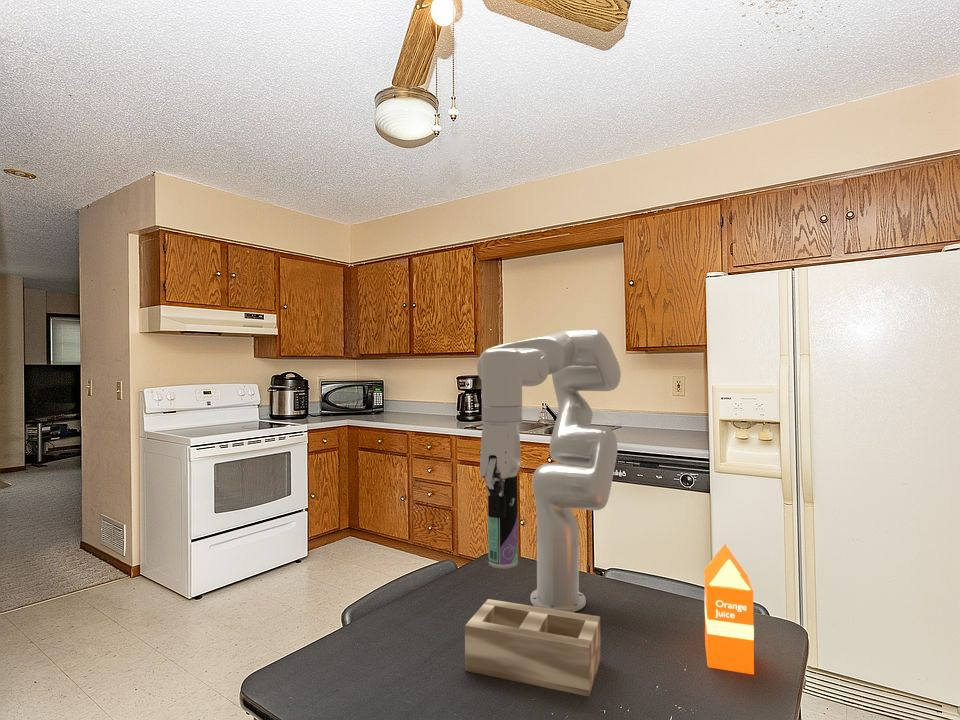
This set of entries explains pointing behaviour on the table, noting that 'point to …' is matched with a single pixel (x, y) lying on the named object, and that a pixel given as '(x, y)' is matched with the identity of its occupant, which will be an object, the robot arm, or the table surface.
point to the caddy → (534, 646)
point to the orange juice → (728, 615)
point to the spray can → (505, 529)
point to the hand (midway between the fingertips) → (502, 511)
